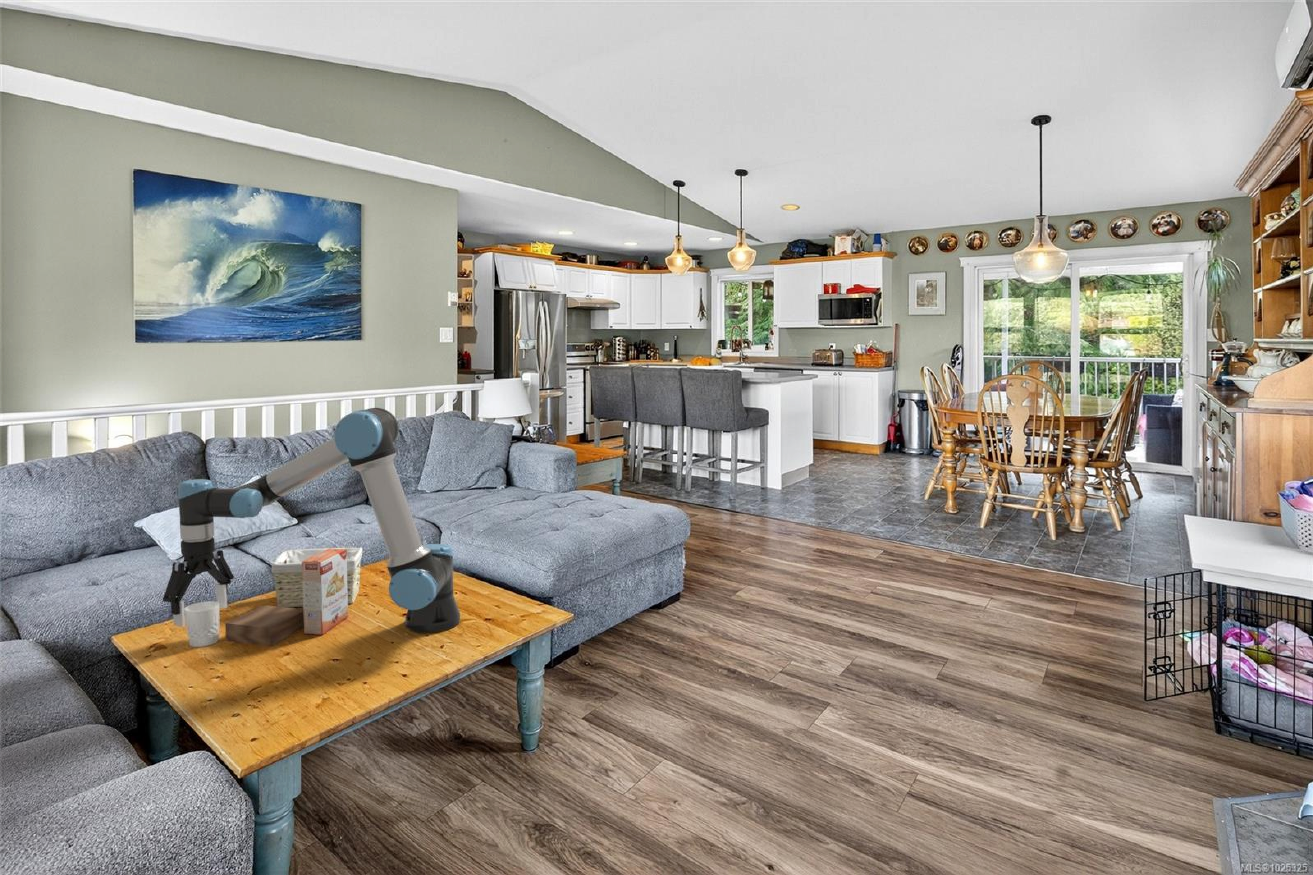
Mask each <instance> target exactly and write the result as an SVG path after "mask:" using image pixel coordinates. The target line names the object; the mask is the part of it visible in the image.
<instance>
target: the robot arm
mask: <svg viewBox="0 0 1313 875" xmlns="http://www.w3.org/2000/svg"><path fill="white" fill-rule="evenodd" d="M399 430H400V427H399V422H398V420H397V418H396V417H395V415H394V414H393V413H392V412H390V411H389V410H387V409H386V408H385V409H384V408H380V407H372V408H370V407H369V408H366V409H360V410H355V411H353V412H350V413H348V414H346V415H345V416H343V417H342V418H341V419H340V420H338V423H337V424H336V426H335V429H334V431H333V434H334V435H333V438H331V439H329V440H327V441H325V442H323V443H321V444H320V445H318V446H316V447H313V449H311V450H309V451H307V452H305V453H303V454H301V455H299V456H298V457H296V458H294V459H292V460H290V461H288V462H287V463H284V464H283V465H281V466H280V467H278V468H276V469H273V470H271V471H270V472H268V473H266V474H264V475H262V476H261V477H259V478H257V479H256V480H253V481H251V482H248V483H245V484H242V485H239V486H237V487H232V488H218V487H217V488H216V487H214V486H213V483H212V481H211V480H210V479H204V478H201V479H199V478H198V479H187V480H183V481H181V482H180V483H179V485H178V493H177V501H178V502H177V503H178V510H179V511H178V512H179V513H178V514H179V532H180V534H179V536H180V539H181V541H180V553H181V555H182V556H183V561H182V562H173V563H172V568H171V569H172V570H171V571H172V572H171V573H170V577H169V580H168V582H167V586H166V589H165V591H164V594H163V598H162V601H163V602H165V603H170V612H171V615H172V616H173V626H177V627H186V619H185V611H184V609H185V600H182V599H183V597H184V595H185V594H186V592H187V590H188V588H189V587H190V584H191V583H192V581H193V579H194V578H196V577H197V575H200V574H202V573H208V574H209V576H211V577H212V579H214V580H215V581H216V583H217V584H216V583H215V598H216V599H215V602H218V603H219V609H227V608H228V600H227V598H228V596H227V595H228V594H229V590H228V587H229V586H228V585H231V584H232V580H234V579H235V578H234V577H235V576H234V573H233V571H232V570H231V568H230V566H229V564H228V563H227V560H226V558H225V555H224V551H223V550H222V549H216V541H215V538H214V536H215V523H214V519H215V518H235V519H246V518H256V517H257V516H258V515H259V514H260V512H261V511H262V509H263V507H266V506H269V505H272V504H274V503H276V502H277V501H278V500H279V499H281V498H282V497H284V496H286V495H288V494H290V493H291V492H294V491H295V490H297V489H299V488H301V487H303V486H305V485H307V484H308V483H310V482H312V481H313V480H315V479H317V478H319V477H321V476H323V475H325V474H327V473H329V472H331V471H332V470H334V469H337V468H338V467H340V466H342V465H344V464H346V463H347V462H349V465H350V467H351V468H352V469H354V470H355V471H357V472H359V474H360V476H361V479H362V482H363V485H364V487H365V490H366V493H367V496H368V499H369V502H370V505H371V508H372V511H373V513H374V516H375V518H376V521H377V524H378V526H379V530H380V533H381V536H382V539H383V542H384V544H385V547H386V550H387V553H388V555H389V559H388V561H387V563H386V568H387V571H388V574H389V577H390V581H389V583H388V584H389V585H388V594H389V596H390V599H391V600H392V602H393V603H394V604H395V605H396V606H398V607H400V608H402V609H404V610H407V612H406V615H405V628H406V629H407V630H409V631H411V632H415V633H422V634H423V633H425V634H427V633H429V634H430V633H431V634H432V633H437V632H444V631H447V630H450V629H452V628H454V627H456V626H458V625H459V624H460V622H461V612H460V610H459V606H458V604H457V601H456V599H455V596H454V554H453V548H452V546H450V545H448V544H442V543H431V544H430V543H428V544H426V543H425V544H422V541H421V538H420V535H419V532H418V529H417V527H416V523H415V520H414V517H413V515H412V512H411V509H410V506H409V503H408V500H407V498H406V495H405V491H404V490H403V485H402V483H401V480H400V477H399V475H398V472H397V471H398V470H397V469H396V466H395V463H394V459H395V458H396V456H397V450H396V448H395V445H394V443H395V442H396V440H397V438H398V436H399V433H400V431H399ZM214 563H215V564H214Z"/></svg>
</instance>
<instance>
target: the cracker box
mask: <svg viewBox="0 0 1313 875" xmlns="http://www.w3.org/2000/svg"><path fill="white" fill-rule="evenodd" d="M332 548H333V547H330V548H329V549H327V550H325V551H323V552H321V553H319V554H317V555H315V556H312V557H310V558H308V559H306V560H304V561H302V582H303V607H302V609H303V614H304V629H303V633H304V635H319V636H321V635H322V636H323V635H324V634H326V633H327V632H329V631H330V630H331V629H334V627H336V626H337V625H338V624H340V623H342V622H343V621H344V620H346V619H347V618H349V604H348V591H347V550H346V549H332Z"/></svg>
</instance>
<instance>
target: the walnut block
mask: <svg viewBox="0 0 1313 875" xmlns="http://www.w3.org/2000/svg"><path fill="white" fill-rule="evenodd" d="M224 626H225V627H224V628H225V641H226V642H233V643H240V644H241V643H242V644H249V645H258V646H259V645H260V646H265V647H266V646H268V647H272V646H274V645H276V644H278V643H280V642H282V641H284V640H285V639H287V638H289V637H290V636H293V635H294V634H296V633H298V632H300V631H301V630H304V614H303V608H297V607H289V608H286V607H278V606H275V605H267V604H264V605H262V606H260V607H257V608H255V609H253V610H251V611H248V612H246V613H244V614H241V615H240V616H237V617H235V618H233V619H231V620H228V621H226V622H225V623H224Z"/></svg>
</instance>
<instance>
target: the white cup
mask: <svg viewBox="0 0 1313 875" xmlns="http://www.w3.org/2000/svg"><path fill="white" fill-rule="evenodd" d="M184 611H185V628H186V631H187V636H188V644H189V646H191V647H193V648H201V647H207V646H211V645H214V644H215V643H217V642H219V640H220V608H219V603H218V602H216V600H215V601H214V600H208V601H200V602H196V603H192V604H189V605H187V606H186V607H185V606H184Z"/></svg>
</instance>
